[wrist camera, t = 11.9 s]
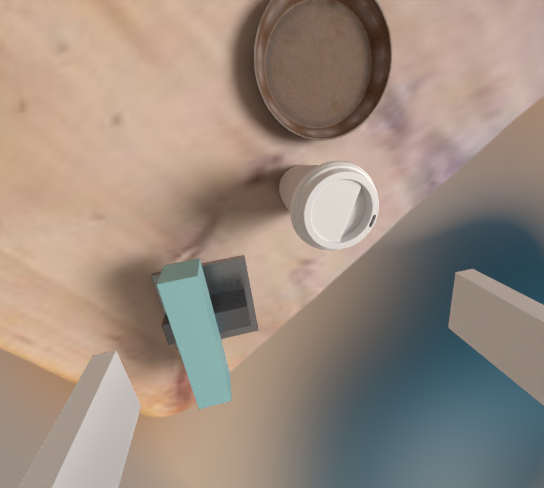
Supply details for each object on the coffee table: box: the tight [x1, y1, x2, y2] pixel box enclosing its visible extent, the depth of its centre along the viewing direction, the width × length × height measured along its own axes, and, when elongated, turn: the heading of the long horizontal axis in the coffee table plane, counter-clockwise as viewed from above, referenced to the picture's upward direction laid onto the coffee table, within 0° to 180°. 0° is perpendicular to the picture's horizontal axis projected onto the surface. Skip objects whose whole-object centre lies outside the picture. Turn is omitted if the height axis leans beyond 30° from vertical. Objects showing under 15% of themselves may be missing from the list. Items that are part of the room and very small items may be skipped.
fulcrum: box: [151, 256, 258, 350], centre depth 43 cm, size 14×14×6 cm
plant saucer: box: [254, 0, 392, 140], centre depth 35 cm, size 18×18×3 cm
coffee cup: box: [279, 161, 379, 250], centre depth 34 cm, size 10×10×15 cm
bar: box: [157, 258, 231, 409], centre depth 37 cm, size 4×20×5 cm, turn 8°
